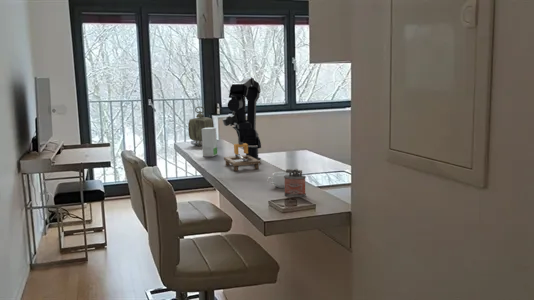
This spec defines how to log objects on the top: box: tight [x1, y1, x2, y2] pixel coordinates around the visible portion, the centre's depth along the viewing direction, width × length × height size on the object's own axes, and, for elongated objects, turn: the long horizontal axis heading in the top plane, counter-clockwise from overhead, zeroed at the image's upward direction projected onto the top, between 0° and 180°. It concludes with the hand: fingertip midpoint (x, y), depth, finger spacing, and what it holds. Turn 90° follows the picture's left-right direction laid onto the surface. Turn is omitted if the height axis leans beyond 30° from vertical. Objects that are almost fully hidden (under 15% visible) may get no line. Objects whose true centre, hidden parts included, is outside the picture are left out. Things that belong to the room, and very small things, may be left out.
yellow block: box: [233, 137, 248, 155], centre depth 245 cm, size 4×6×8 cm, turn 108°
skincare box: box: [201, 126, 218, 158], centre depth 283 cm, size 8×7×16 cm
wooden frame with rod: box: [223, 154, 261, 172], centre depth 247 cm, size 20×13×4 cm, turn 18°
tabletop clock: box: [187, 106, 215, 146], centre depth 323 cm, size 14×9×25 cm, turn 66°
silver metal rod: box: [234, 153, 248, 162], centre depth 246 cm, size 16×2×1 cm, turn 18°
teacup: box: [267, 171, 293, 189], centre depth 201 cm, size 10×8×5 cm
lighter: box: [284, 168, 307, 198], centre depth 186 cm, size 8×3×10 cm, turn 71°
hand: (241, 141), depth 245 cm, fingers closed on yellow block, 2 cm apart
